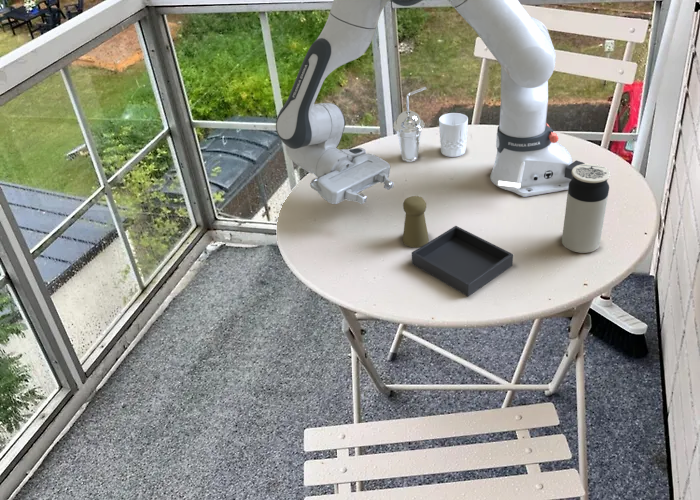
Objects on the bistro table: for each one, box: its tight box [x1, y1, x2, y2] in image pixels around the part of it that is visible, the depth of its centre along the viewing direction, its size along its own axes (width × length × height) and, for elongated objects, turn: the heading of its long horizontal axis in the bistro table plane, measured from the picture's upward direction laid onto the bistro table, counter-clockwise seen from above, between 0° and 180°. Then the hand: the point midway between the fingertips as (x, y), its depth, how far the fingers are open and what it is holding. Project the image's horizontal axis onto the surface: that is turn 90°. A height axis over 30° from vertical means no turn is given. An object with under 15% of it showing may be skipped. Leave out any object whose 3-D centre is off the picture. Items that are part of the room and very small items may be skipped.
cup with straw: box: [392, 86, 427, 163], centre depth 178 cm, size 8×9×20 cm
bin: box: [411, 225, 514, 297], centre depth 141 cm, size 16×14×3 cm
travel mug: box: [561, 163, 611, 254], centre depth 139 cm, size 8×8×18 cm
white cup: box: [438, 112, 469, 158], centre depth 181 cm, size 8×8×10 cm
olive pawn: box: [402, 195, 430, 248], centre depth 148 cm, size 6×6×11 cm
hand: (378, 193), depth 154 cm, fingers open, 8 cm apart
